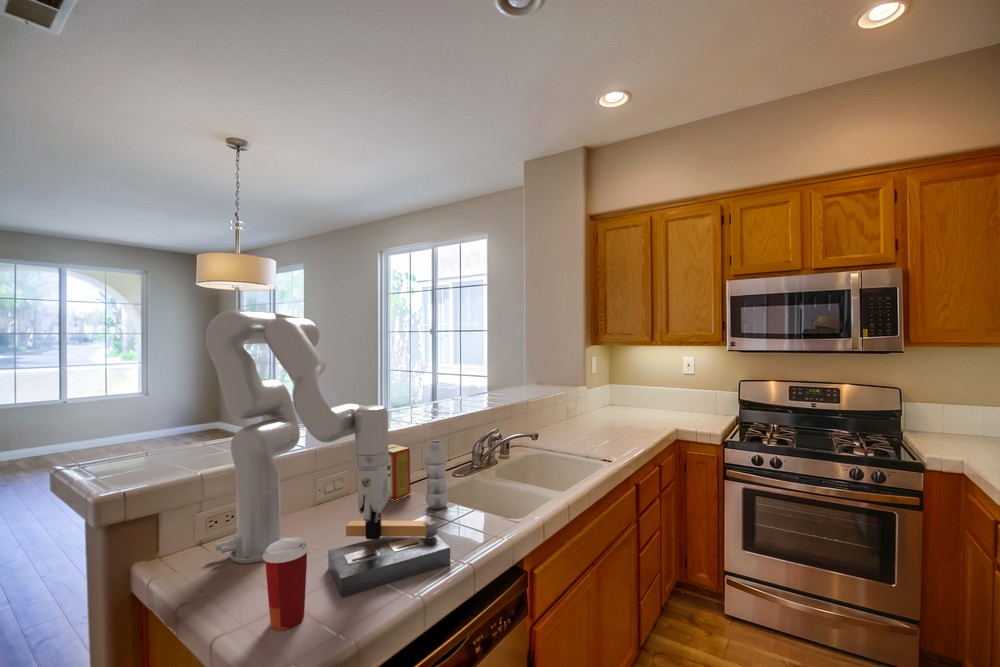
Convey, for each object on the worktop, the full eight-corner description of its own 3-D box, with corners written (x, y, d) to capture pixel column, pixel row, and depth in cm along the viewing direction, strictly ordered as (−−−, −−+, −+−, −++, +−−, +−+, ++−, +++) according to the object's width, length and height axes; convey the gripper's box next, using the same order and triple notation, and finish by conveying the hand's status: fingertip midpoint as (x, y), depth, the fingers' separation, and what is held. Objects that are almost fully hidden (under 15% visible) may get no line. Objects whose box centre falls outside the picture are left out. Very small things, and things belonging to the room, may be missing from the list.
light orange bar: (438, 530, 109) (437, 520, 109) (435, 536, 105) (435, 526, 105) (351, 530, 110) (350, 520, 110) (345, 536, 107) (345, 525, 107)
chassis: (341, 598, 90) (340, 574, 90) (328, 568, 102) (328, 547, 102) (450, 564, 102) (449, 544, 102) (427, 541, 114) (427, 522, 114)
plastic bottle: (444, 512, 133) (442, 444, 133) (422, 510, 134) (421, 444, 134) (450, 503, 139) (449, 439, 139) (430, 502, 141) (429, 439, 141)
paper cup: (316, 607, 87) (315, 535, 87) (300, 633, 79) (298, 554, 79) (275, 609, 87) (274, 536, 87) (255, 635, 79) (253, 556, 79)
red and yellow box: (410, 495, 148) (409, 446, 148) (394, 501, 143) (393, 451, 143) (392, 489, 154) (391, 443, 154) (376, 495, 149) (375, 447, 149)
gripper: (379, 468, 97) (381, 552, 97) (395, 450, 112) (396, 523, 112) (345, 469, 97) (346, 553, 97) (365, 451, 112) (366, 524, 112)
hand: (373, 537), depth 104 cm, fingers closed
